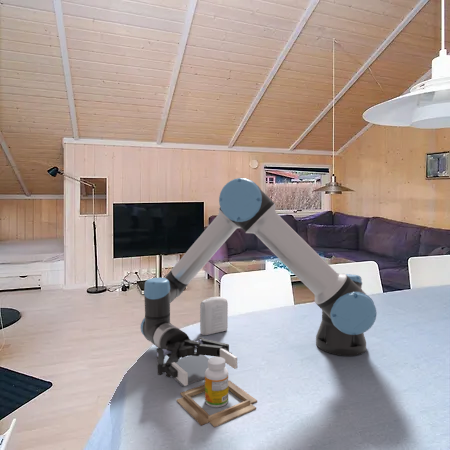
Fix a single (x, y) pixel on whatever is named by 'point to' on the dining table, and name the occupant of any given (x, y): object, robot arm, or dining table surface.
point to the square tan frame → (218, 417)
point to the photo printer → (213, 315)
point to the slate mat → (193, 367)
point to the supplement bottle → (216, 382)
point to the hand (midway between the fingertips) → (212, 371)
